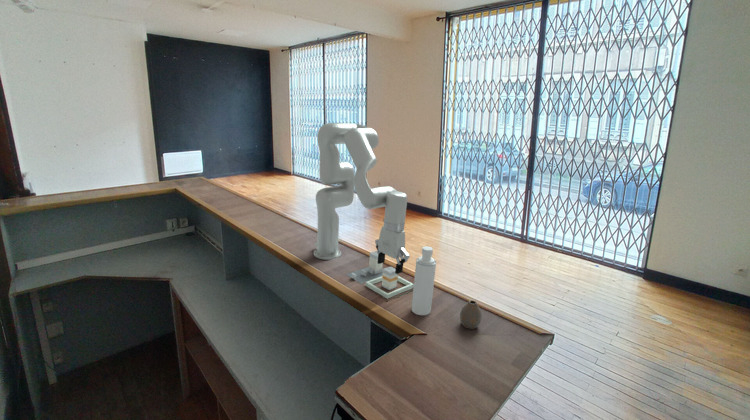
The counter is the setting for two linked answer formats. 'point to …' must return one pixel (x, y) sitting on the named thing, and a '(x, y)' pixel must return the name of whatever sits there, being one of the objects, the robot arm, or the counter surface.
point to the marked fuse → (389, 278)
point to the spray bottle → (424, 282)
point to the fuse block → (364, 275)
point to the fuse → (375, 263)
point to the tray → (393, 293)
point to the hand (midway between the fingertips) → (389, 267)
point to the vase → (471, 315)
